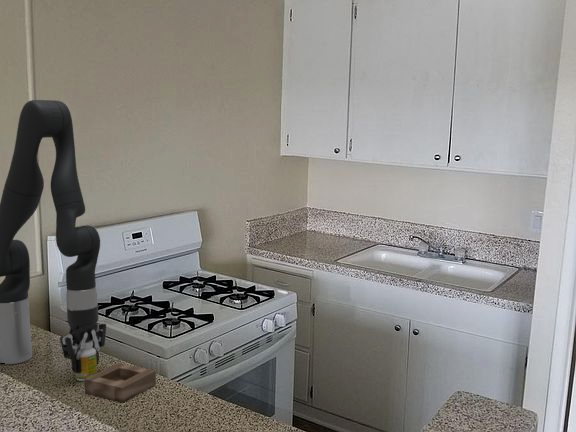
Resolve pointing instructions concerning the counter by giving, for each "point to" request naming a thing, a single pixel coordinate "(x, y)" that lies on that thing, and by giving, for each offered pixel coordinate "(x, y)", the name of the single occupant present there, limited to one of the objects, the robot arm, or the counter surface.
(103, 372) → the socket block
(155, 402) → the counter surface
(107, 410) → the counter surface
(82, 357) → the supplement bottle
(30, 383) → the counter surface
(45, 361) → the counter surface
